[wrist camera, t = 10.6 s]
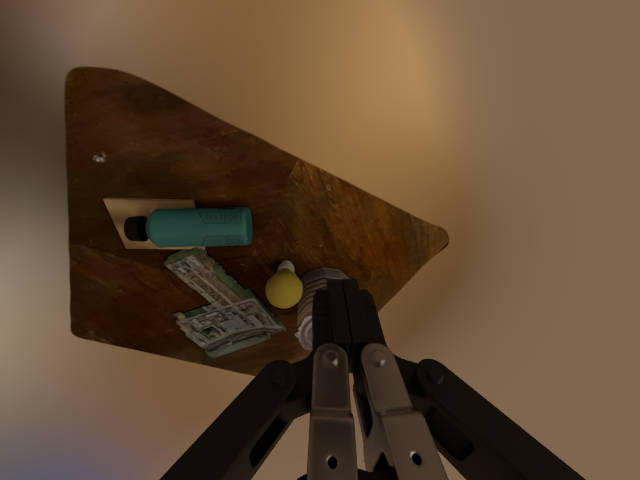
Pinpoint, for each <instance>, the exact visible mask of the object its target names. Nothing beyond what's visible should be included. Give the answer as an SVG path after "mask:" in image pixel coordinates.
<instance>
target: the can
mask: <svg viewBox="0 0 640 480" xmlns="http://www.w3.org/2000/svg"><path fill="white" fill-rule="evenodd" d="M327 279H341V280H342V279H349V278H348V277H347V276H346V275H345V274H344V273H342V272H341V271H340V270H339V269H333V268H326V267H321V268H318V269H315V270H312V271H310V272H307V273H306V274H305V276H304V277H303V278H302V280H301V282H302V285H303V294H302V297H301V298H300V300H299V302H298V325H297V327H298V330H297V332H296V333H295V336H296V337H297V339H298V340H299V342H300V344H301V345H302V347H303V348H304V349H306V350H311V351H312V350H313V348H312V304H313V296H314V294H315V292H316V290H317V289H326V281H327Z"/></svg>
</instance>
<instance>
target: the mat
mask: <svg viewBox="0 0 640 480" xmlns="http://www.w3.org/2000/svg"><path fill="white" fill-rule="evenodd" d="M103 200H104V202H105V204H106V207H107V209H108V211H109V213H110V215H111V217H112V219H113V222H114V224H115V226H116V228H117V230H118V232H119V234H120V237H121V239H122V241H123V243H124V245H125V247H126V249H192V248H194V247H196V246H192V247H163V248H159V247H157V246H156V245H154V244H153V243H152V242H151V240H150V239H148V240H147V241H145V242H139V241H130V240H128V239H127V238H126V236H125V233H124V223H125V220H126V219H127V218H128V217H133V216H145V217H147V218H148V217H149V215H150V214H151V213H152V212H153V211H154V210H155V209H159V208H160V209H181V208H195V203H194V200H183V199H146V198H108V197H105V198H104V199H103ZM197 248H198V249H199V247H197ZM200 248H202V249H203V250H205V248H206V247H205V246H202V247H200Z"/></svg>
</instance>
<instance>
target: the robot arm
mask: <svg viewBox="0 0 640 480" xmlns="http://www.w3.org/2000/svg"><path fill="white" fill-rule="evenodd" d="M312 348H313V350H312V352H311V353H310V355H309V356H308V357H306V358H305V359H303V360H301V361H299V362H296V363H293V364H290V363H289V362H287V361H284V360H276V361H273V362H271V363H269V364H267V365H266V366H265V367H264V368H263V369H262V371H261V372H260V373H259V374H258V375H257V376H256V377H255V378H254V379H253V380H252V381H251V382H250V383H249V385H248V386H247V387H246V388H245V389H244V390H243V391H242V392H241V393H240V394H239V395H238V396H237V397H236V398H235V399H234V401H233V402H232V403H231V404H230V405H229V406H228V407H227V408H226V409H225V410H224V411H223V412H222V413H221V414H220V415H219V417H218V418H217V419H216V420H215V421H214V422H213V423H212V424H211V425H210V426H209V427H208V428H207V429H206V430H205V432H204V433H203V434H202V435H201V436H200V437H199V438H198V439H197V440H196V441H195V442H194V443H193V444H192V445H191V446H190V448H189V449H188V450H187V451H186V452H185V453H184V454H183V455H182V456H181V457H180V458H179V459H178V460H177V461H176V463H175V464H174V465H173V466H172V467H171V468H170V469H169V470H168V471H167V472H166V473H165V474H164V475H163V476H162V477H161V479H160V480H251V479H252V478H253V476H254V475H255V473H256V472H257V470H258V469H259V468H260V466H261V465H262V464H263V462H264V461H265V459H266V458H267V457H268V455H269V454H270V452H271V451H272V450H273V448H274V447H275V445H276V444H277V442H278V441H279V440H280V438H281V437H282V436H283V434H284V433H285V431H286V430H287V429H288V427H289V426H290V424H291V423H292V422H293V420H294V419H295V418H297V417H300V416H302V415H304V414H307V413H309V412H310V426H309V443H308V444H309V445H308V462H307V474H305V475H303V476H302V477H300V478H298V479H297V480H449V479H448V477H447V474H446V472H445V469H444V467H443V464H442V461H441V459H440V456H439V454H438V451H439V452H440V453H441V454H442V455H443V456H444V457H445V458H446V459H447V460H448V461H449V462H450V463H451V464H452V465H453V466H454V467H455V468H456V469H457V470H458V471H459V472H460V474H461V475H462V476H463V477H464V478H465V479H466V480H585V479H584V478H583V477H582V476H580V475H579V474H578V473H577V472H575V471H574V470H573V469H572V468H571V467H569V466H568V465H566V463H564V462H563V461H562V460H561V459H559V458H558V457H557V456H556V455H554V454H553V453H552V452H551V451H549V450H548V449H547V448H546V447H544V446H543V445H542V444H541V443H540V442H538V441H537V440H536V439H535V438H533V437H532V436H531V435H530V434H528V433H527V432H526V431H525V430H523V429H522V428H521V427H520V426H518V425H517V424H516V423H515V422H514V421H512V420H511V419H510V418H509V417H507V416H506V415H505V414H504V413H502V412H501V411H500V410H499V409H497V408H496V407H495V406H494V405H492V404H491V403H490V402H489V401H487V400H486V399H485V398H484V397H483V396H481V395H480V394H479V393H477V392H476V391H475V390H474V389H473V388H471V387H470V386H469V385H467V384H466V383H465V382H464V381H463V380H461V379H460V378H459V377H458V376H456V375H455V374H454V373H453V372H451V371H450V370H449V369H448V368H447V367H445V366H444V365H443V364H441V363H440V362H438V361H436V360H433V359H424V360H422V361H420V362H419V363H418V364H417V363H414V362H411V361H407V360H404V359H401V358H399V357H397V356H396V355H394V354H393V353H392V352H391V351H390V349H389V348H388V347H387V345H386V342H385V339H384V335H383V332H382V328H381V324H380V321H379V317H378V313H377V310H376V306H375V302H374V299H373V297H372V295H371V294H370V293H369V292H368V290H359V287H358V282H357V280H356V279H342V280H341V279H327V281H326V289H317V290H316V292H315V294H314V296H313V304H312ZM349 373H353V378H354V385H353V394H354V398H355V404H356V408H357V413H358V418H359V423H360V427H361V432H362V437H363V443H364V461H365V466H366V471H364V470H361V469H357V456H356V441H355V427H354V418H353V414H352V413H351V403H350V387H349ZM437 450H438V451H437Z"/></svg>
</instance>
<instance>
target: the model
mask: <svg viewBox="0 0 640 480" xmlns="http://www.w3.org/2000/svg"><path fill="white" fill-rule="evenodd" d="M214 260H215V259H214V258H210V257H209V256H207V250H203V249H202V248H199V249H198V248H197V247H194V248H192V249H190V250H188V251H186V250H185V249H183V250H181V251H179V252H177V253H174V254H172V255H170V256H168V258H167V260H166V261H163V262H162V263H163V264H164V265H165V266H166V267H167V268H169V269H170V270H171V271H172V272H173V273H174V274H175V275H177V276H178V277H179V278H180V279H181V280H182V281H183V282H185V283H186V284H187V285H188V286H189V287H190V288H191V289H193V290H194V289H195V290H197V292H199V293H200V294H201V295H202V296H203V297H205V298H206V299H207V300H208V301H209V302H210V303H211V305H208V306H203V307H200V308H198V309H195V310H193V311H190V312H186V313H185V314H182V313H181V312H180V311H179V312H177V313H174V314H172V315H174V316H176V318H177V319H175V321H176V323H177V324H178V325H179V326H180V329H181V330H182V331H184V332H185V336H187V337H188V338H190V339H191V340H192V341H194V342H195V343H196V344H198V345H199V346H201V347H202V348H203V349H205V353H206V354H208V355H209V356H210V357H212V358H215V357H218V356H221V355H224V354H227V353H230V352H233V351H236V350H239V349H242V348H245V347H248V346H251V345H254V344H257V343H260V342H263V341H266V340H269V339H272V338H270V335H271V334H274V333H277V332H280V331H283V330H284V332H286V327H285V326H284V325H283V324H282V323H281V322H280V321H279V320H278V319H277V318H276V316H275V315H274V314H273V313H272V312H271V311H270V310H269V309H268V308H267V307H266V306H265V305H264V304H263V303H262V302H261V300H260V299H259V298H258V297H257V296H256V295H255V294H254V293H253V292H252V291H251V290H250V289H246V290H244V289H243V288H242V287H241V286H240V285H239V284H237V285H236V283H237V281H236V280H235V279H234V278H233V277H231V276H228V275H227V274H226V273H225V270H224V269H222V266H219V265H218V262H214ZM182 333H183V332H182Z"/></svg>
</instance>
